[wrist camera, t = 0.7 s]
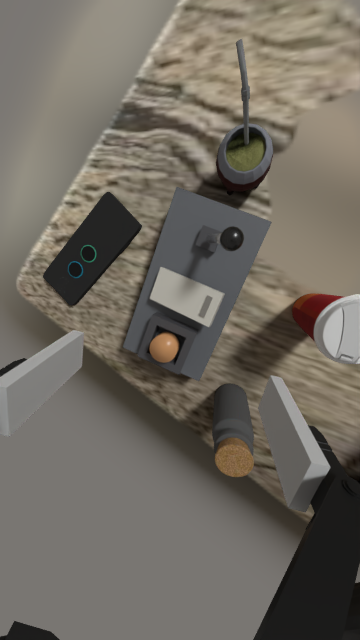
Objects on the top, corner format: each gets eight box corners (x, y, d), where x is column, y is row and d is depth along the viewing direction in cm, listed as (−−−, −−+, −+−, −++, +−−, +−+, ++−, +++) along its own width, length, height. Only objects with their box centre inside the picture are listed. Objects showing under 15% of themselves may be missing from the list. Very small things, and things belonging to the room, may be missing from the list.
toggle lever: (221, 233, 31) (252, 231, 23) (214, 250, 32) (241, 255, 23) (205, 226, 31) (230, 221, 22) (198, 244, 31) (220, 246, 23)
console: (265, 228, 36) (275, 218, 29) (201, 368, 43) (197, 388, 36) (182, 197, 38) (173, 180, 30) (133, 338, 44) (116, 352, 37)
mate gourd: (245, 209, 36) (260, 170, 22) (203, 181, 37) (191, 124, 22) (277, 162, 34) (316, 85, 20) (232, 133, 35) (239, 35, 20)
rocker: (225, 293, 32) (223, 293, 31) (210, 325, 34) (208, 327, 32) (164, 267, 35) (159, 266, 34) (153, 298, 36) (148, 298, 35)
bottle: (213, 409, 45) (209, 476, 30) (215, 381, 43) (211, 437, 29) (245, 413, 44) (256, 485, 29) (248, 384, 42) (261, 445, 28)
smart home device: (40, 275, 44) (106, 188, 38) (47, 275, 45) (111, 192, 40) (71, 307, 44) (141, 226, 38) (77, 306, 46) (144, 228, 40)
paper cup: (324, 339, 38) (379, 377, 25) (278, 325, 39) (306, 355, 26) (345, 293, 36) (417, 308, 23) (295, 280, 37) (336, 286, 24)
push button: (183, 338, 35) (180, 342, 33) (174, 360, 36) (170, 366, 34) (159, 327, 36) (154, 331, 33) (150, 350, 37) (145, 355, 34)
